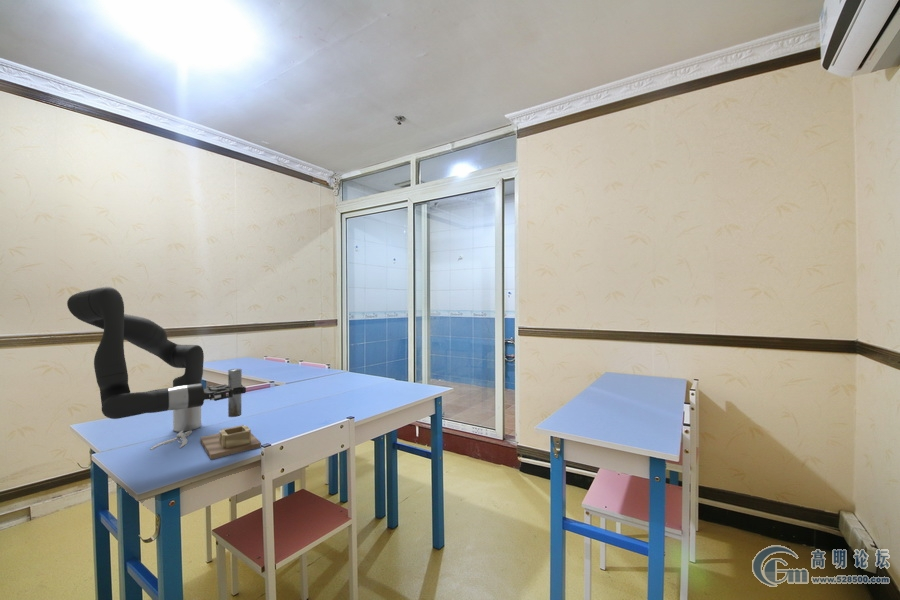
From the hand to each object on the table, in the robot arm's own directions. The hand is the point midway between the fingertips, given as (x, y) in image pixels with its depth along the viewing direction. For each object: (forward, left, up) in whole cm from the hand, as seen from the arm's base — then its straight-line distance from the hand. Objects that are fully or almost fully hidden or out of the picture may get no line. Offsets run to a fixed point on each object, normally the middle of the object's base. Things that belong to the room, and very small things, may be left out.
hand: (243, 388), depth 133 cm
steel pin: (0, -3, -9) cm, 9 cm away
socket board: (-3, -4, -20) cm, 20 cm away
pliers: (-19, -18, -20) cm, 33 cm away
